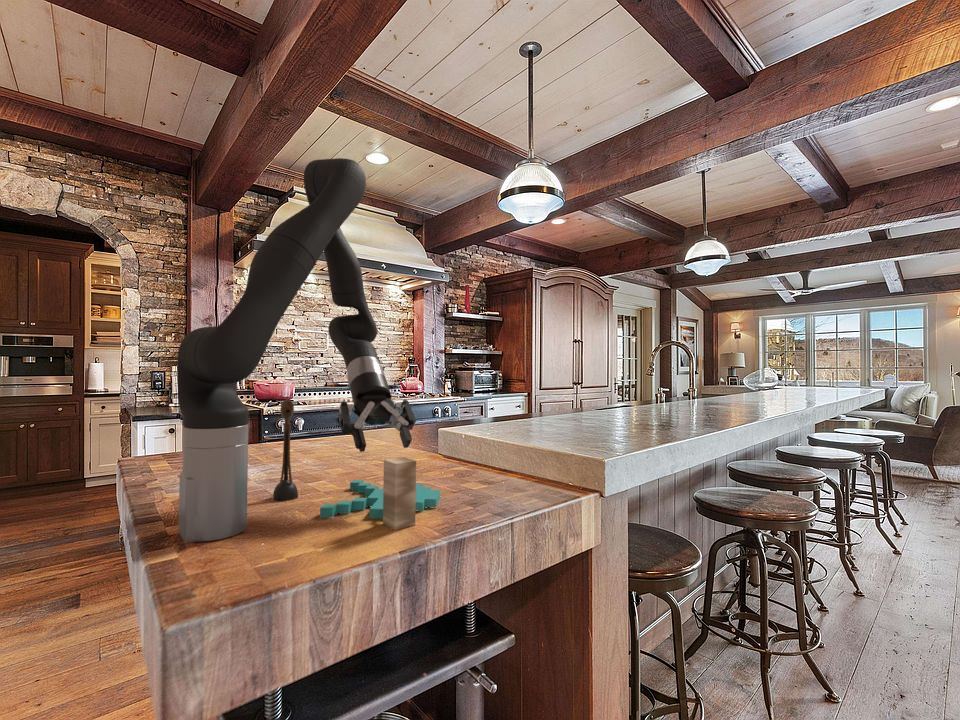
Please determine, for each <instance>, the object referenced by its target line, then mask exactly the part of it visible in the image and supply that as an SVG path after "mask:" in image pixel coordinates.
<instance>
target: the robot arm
mask: <svg viewBox="0 0 960 720" xmlns="http://www.w3.org/2000/svg"><path fill="white" fill-rule="evenodd" d="M366 186H367V178H366V173H365V171H364V169H363V166H361V165H360V164H359V163H358V162H357V161H355V160H353V159H349V158H340V157H337V158H323V159H315V160H312V161H310V162H309V163H308V164H306V166H305V168H304V172H303V187H304V191H305V197H306V199H307V202H308V205H307V206H306V207H304V208H302V209H301V210H300V211H298V212H296V213H295V214H293V215H292V216H290V217H289V218H287V219H285V220H284V221H282V222H281V223H280V224H278V225H277V226H276V227H275V228H273V230H272V231H271V232H270V233H269V234H268V235H267V237H266V238H265V240H264V241H263V242H262V244H261V246H259V248H258V250H257V251H256V253H255V254H254V256H253V258H252V259H251V262H250V265H249V271H248V275H247V284H246V286H245V289H244V292H243V294H242V297H240V299H239V301H238V302H237V304H236V305H235V306H234V307H233V309H232V310H231V311H230V313H229V314H228V315H227V317H226V318H225V319H224V320H223V321H222V322H221V323H220V324H219V325H217V326H214V325H213V326H204V327H199V328H196V329H193V330H191V331H190V332H188V333H187V334H186V335H185V336H184V338H183V339H182V340H181V343H180V345H179V347H178V352H177V359H176V360H177V363H176V364H177V367H176V368H177V369H176V370H177V371H176V372H177V373H176V374H177V375H176V376H177V377H176V378H177V400H178V401H177V402H178V406H179V410H180V412H181V414H182V420H183V423H182V424H183V425H182V468H181V469H182V471H181V472H180V474H179V483H178V484H179V487H178V488H179V491H178V493H179V496H178V534H179V535H180V538H181V539H182V542H183V543H185V544H187V543H191V542H210V541H211V542H212V541H218V540H222V539H227V538H230V537H234V536H236V535H238V534H240V533H242V532H244V531H245V530H246V529H247V526H248V522H247V521H248V481H249V479H248V475H249V474H248V470H249V468H248V466H249V465H248V464H249V461H248V460H249V421H250V420H249V419H250V418H249V416H250V415H249V408H248V407H247V406H246V405H245V404H244V402H243V401H242V400H241V398H240V397H239V396H238V392H237V383H240V382H241V381H244V380H246V379H247V378H248V377H250V376H251V375H252V374H253V372H254V371H255V369H257V366H258V365H259V364H260V361H261V359H262V358H263V356H264V355H265V354H264V353H265V351H266V349H267V347H268V345H269V342H270V341H271V339H272V336H273V334H274V333H275V330H276V329H277V326H278V325H279V322H280V321H281V320H282V317H283V316H284V314H285V312H286V311H287V310H288V308H289V307H290V305H291V303H292V302H293V301H294V299H295V297H296V295H297V293H298V292H299V290H300V289H301V288H302V286H303V284H304V283H305V282H306V281H307V279H308V277H309V275H310V274H311V273H312V271H313V269H314V268H315V266H316V264H317V262H318V261H319V258H320V257H321V256H322V254H324V258H325V262H326V266H327V273H328V278H329V279H328V280H329V284H330V291H331V293H330V294H331V297H332V298H331V299H332V302H333V304H334V305H335V306H337V307H343V308H352V309H355V310H356V311H357V312H358V313H356V314H354V313H353V314H348V315H347V314H346V315H340V316H335V317H333V318H332V319H331V321H330V322H329V324H328V327H327V328H328V335H329V338H330V340H331V342H332V343H333V346H335V348H336V349H337V350H338V352H339V353H340V354H341V356H342V358H343V361H344V363H345V364H344V365H345V368H346V377H347V383H348V384H347V385H348V387H349V390H350V394H351V399H352V403H353V404H348V402H347V401H341V403H340V405H339V410H338V417H339V423H340V425H339V426H340V431H341V434H343V435H347V434H349V435H352V438H353V442H354V446H355V448H356V449H357V450H358V451H359V452H360V453H362V452H365V451H366V447H367V443H366V438H365V434H364V430H363V428H364V427H365V426H366V424H369V426H372V425H373V426H375V425H386V424H387V425H388V426H389V427H390V428H393V429H394V428H395V429H396V430H397V431H398V432H399V433H398V434H399V437H400V440H401V443H402V446H403V448H404V449H407V448H409V446H410V444H411V443H412V439H413V437H412V434H411V431H412V430H413V429H414V425H415V424H416V422H417V419H416V417H415V414H414V411H413V410H412V407H411V405H410V402H409V400H408V399H403V400H402V402H395V401H394V400H393V399H392V394H391V391H390V387H389V385H388V381H387V378H386V375H385V371H384V369H383V367H382V365H381V363H380V359H379V356H378V354H377V350H376V348H375V346H374V344H373V342H374V341H375V339H376V338H377V334H378V328H377V325H376V321H375V319H374V317H373V316H372V313H371V311H370V308H369V306H368V303H367V299H366V293H365V288H364V287H365V286H364V280H363V279H364V278H363V272H362V268H361V264H360V262H359V259H358V257H357V255H356V253H355V251H354V250H353V248H352V246H351V245H350V243H349V242H348V240H347V239H346V236H345V234H344V233H343V231H342V228H341V226H342V225H343V224H344V223H345V221H346V220H347V219H348V218H349V217H350V215H351V214H352V213H353V212H354V211H355V209H356V208H358V206H359V204H360V203H361V202H362V200H363V197H364V195H365V192H366V188H367V187H366ZM352 412H353V413H354V414H355V416H357V417H358V419H357V420H356V422H355V423H351V419H350V416H351V415H352ZM392 417H393V418H392Z"/></svg>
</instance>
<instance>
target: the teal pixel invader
mask: <svg viewBox="0 0 960 720" xmlns="http://www.w3.org/2000/svg"><path fill="white" fill-rule="evenodd" d="M349 484H350V485H349V491H350V490H357V491H356V493H365V494H364V497H355V498H354V499H353V500H340V501H339V502H337V504H336V503H331V504H330V503H329V504H328V503H324V504H323V505H321V506H320V509H319V518H321V519H329V518H328V517H333V516H334V515H335V514H336V513H344V514H343V515H350V514H351V512H353V511H357V510H364V509H365V508H366V507H367V506H372V507H369V519H370V518H379V519H378V520H383V488H379V485H372V484H371V482H364V480H363V479H353V480H352V481H350V482H349ZM422 485H423V484H422V483H416V509H415V511H416V510H418V511H423V510H424V511H425V508H424V507H437V508H438V505H439V502H440V499H441V490H440V489H432V488H431V486H422ZM365 496H368V497H365ZM438 501H439V502H438ZM437 504H438V505H437ZM367 508H368V507H367ZM367 508H366V509H367ZM366 509H365V510H366ZM365 510H364V511H365ZM424 511H423V512H424ZM336 515H337V514H336ZM336 515H335V516H336ZM335 516H334V517H335ZM326 517H327V518H326ZM334 517H333V518H334ZM380 518H382V519H380Z"/></svg>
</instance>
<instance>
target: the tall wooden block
mask: <svg viewBox="0 0 960 720" xmlns="http://www.w3.org/2000/svg"><path fill="white" fill-rule="evenodd" d="M416 484H417V460H414V459H411V458H408V457H404V456H402V457H395V458H388V459H384V460H383V488H382V489H383V519H382V524H383V525H384V526H386V527H388V528H389V529H391V528H392V530H393V529H394V530H393V531H397V529H398V530H401V528H402V529H406V528H409V527H408V526H410V527H412V526H411V525H414V526H416V512H415V509H416ZM405 527H406V528H405Z"/></svg>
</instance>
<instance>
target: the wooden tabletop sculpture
mask: <svg viewBox="0 0 960 720" xmlns="http://www.w3.org/2000/svg"><path fill="white" fill-rule="evenodd" d="M280 405H281V406H280V415H281V417H282V418H283V419H284V423H282V425H283V448H282V450H283V451H282V453H283V454H282V466H281V467H282V468H281V475H280V482H279V483H278V484H277V485H276V486H275V488H274V489H273V495H272V500H273V499H274V500H273V501H276V500H277V501H276V502H287V500H288V501H293V500H295V499H298V497H299V492H298V488H297V485H296V484H295V483H294V482H293V477H292V467H291V466H292V465H291V425H292V423H291V422H290V418H292V417H293V415H294V412H295V405H294V402H293V401H292V400H291V399H284V400H283V401H282V402H281V404H280Z"/></svg>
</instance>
